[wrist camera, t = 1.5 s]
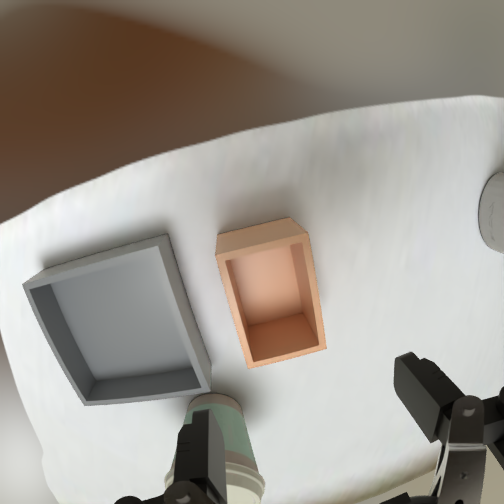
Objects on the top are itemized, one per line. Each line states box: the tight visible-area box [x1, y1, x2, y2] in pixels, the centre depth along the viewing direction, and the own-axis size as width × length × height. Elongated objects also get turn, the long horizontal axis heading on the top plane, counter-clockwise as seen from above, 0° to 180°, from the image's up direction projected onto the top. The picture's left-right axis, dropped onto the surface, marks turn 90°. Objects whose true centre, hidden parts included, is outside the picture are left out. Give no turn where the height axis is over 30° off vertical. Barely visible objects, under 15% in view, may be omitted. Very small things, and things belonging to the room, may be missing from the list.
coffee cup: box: [165, 393, 265, 504], centre depth 25 cm, size 8×8×12 cm
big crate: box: [22, 234, 212, 406], centre depth 25 cm, size 13×13×4 cm
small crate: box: [215, 217, 327, 369], centre depth 24 cm, size 6×9×6 cm, turn 13°
